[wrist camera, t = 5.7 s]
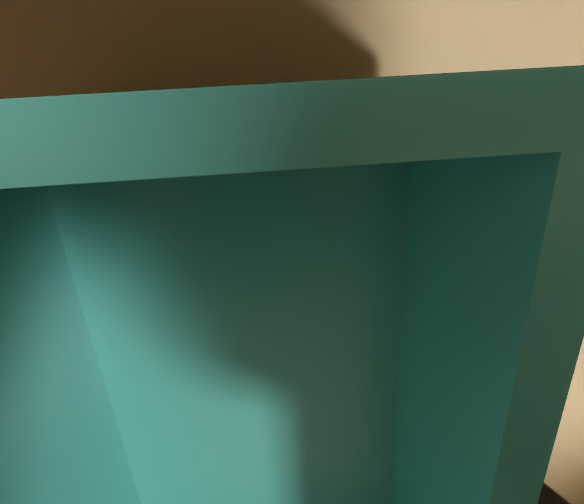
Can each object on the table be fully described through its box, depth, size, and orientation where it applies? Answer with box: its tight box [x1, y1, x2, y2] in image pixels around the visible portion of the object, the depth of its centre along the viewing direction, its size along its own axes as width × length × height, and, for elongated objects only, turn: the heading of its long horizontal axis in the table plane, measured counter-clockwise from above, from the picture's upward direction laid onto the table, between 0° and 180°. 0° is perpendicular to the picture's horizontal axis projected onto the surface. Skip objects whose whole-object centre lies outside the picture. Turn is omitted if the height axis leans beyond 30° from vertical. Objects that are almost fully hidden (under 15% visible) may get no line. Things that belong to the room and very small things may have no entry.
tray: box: [0, 65, 584, 504], centre depth 7 cm, size 7×13×4 cm, turn 3°
